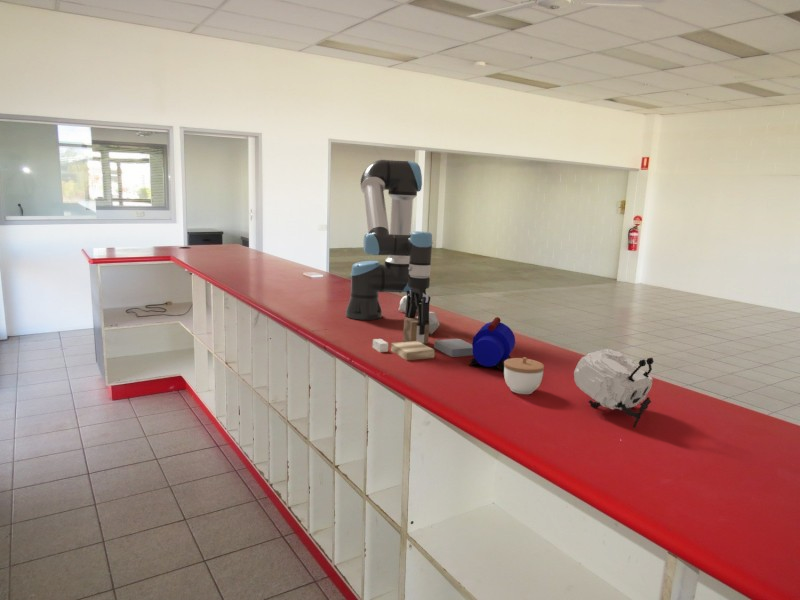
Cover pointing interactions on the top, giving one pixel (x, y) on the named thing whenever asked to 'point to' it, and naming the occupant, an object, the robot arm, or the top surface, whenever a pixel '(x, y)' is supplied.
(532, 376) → the lidded jar
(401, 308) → the white rounded figure
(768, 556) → the top surface
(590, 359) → the robot
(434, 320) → the die
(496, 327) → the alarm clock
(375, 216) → the robot arm
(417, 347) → the oak slab
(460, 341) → the grey slab
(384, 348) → the white brick
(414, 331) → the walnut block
